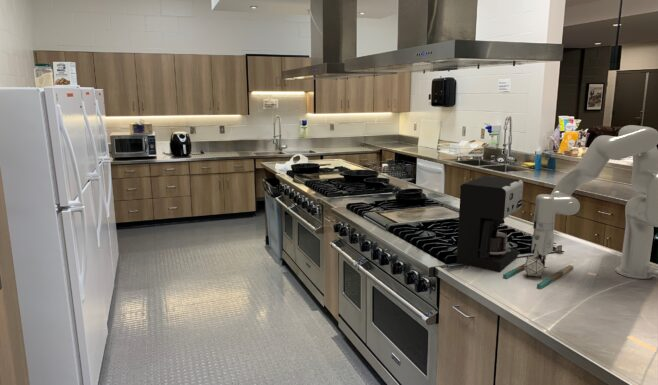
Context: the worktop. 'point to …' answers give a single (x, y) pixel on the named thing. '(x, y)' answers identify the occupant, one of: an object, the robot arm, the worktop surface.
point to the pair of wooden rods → (544, 282)
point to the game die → (533, 266)
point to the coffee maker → (487, 221)
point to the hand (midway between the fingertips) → (539, 269)
